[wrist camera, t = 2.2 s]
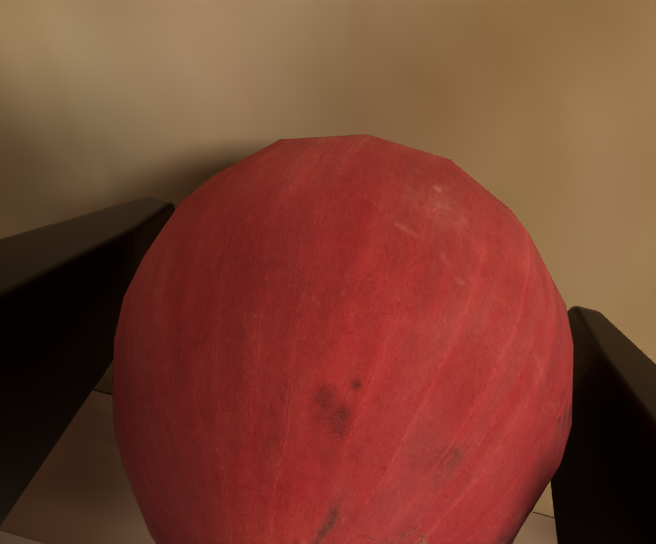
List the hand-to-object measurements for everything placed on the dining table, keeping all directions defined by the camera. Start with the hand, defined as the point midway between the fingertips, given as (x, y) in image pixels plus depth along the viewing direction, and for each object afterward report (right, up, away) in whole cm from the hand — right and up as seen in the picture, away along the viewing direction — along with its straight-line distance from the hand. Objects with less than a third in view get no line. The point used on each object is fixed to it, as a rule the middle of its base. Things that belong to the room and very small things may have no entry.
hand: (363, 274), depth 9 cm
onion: (0, +1, +1) cm, 2 cm away
